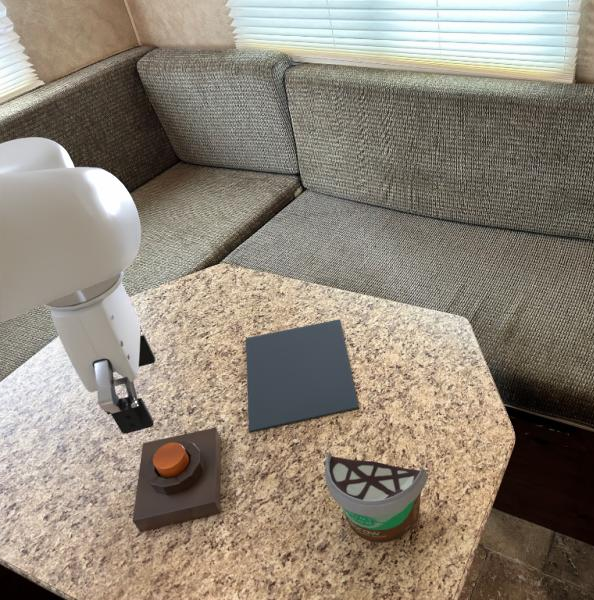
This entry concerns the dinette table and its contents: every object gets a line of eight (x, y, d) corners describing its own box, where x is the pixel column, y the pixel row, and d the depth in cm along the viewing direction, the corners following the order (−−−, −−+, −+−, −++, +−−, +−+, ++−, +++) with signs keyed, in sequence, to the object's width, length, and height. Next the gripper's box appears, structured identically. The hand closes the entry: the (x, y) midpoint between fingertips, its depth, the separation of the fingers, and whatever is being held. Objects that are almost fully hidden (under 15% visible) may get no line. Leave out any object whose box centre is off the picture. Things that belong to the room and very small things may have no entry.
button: (188, 474, 77) (183, 464, 76) (156, 481, 77) (151, 472, 75) (190, 449, 80) (185, 439, 79) (159, 455, 80) (154, 446, 78)
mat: (359, 408, 89) (358, 406, 88) (249, 432, 87) (248, 431, 86) (340, 320, 104) (339, 319, 103) (246, 339, 102) (245, 337, 102)
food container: (321, 541, 73) (306, 495, 67) (336, 496, 78) (324, 449, 71) (420, 561, 70) (415, 515, 64) (431, 513, 75) (427, 466, 69)
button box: (220, 513, 77) (210, 493, 74) (140, 532, 76) (127, 513, 73) (221, 438, 86) (212, 418, 83) (149, 454, 85) (138, 434, 82)
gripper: (47, 232, 62) (110, 350, 73) (15, 345, 49) (98, 467, 60) (123, 217, 63) (174, 335, 74) (111, 322, 50) (175, 446, 61)
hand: (140, 394), depth 67 cm, fingers open, 9 cm apart
